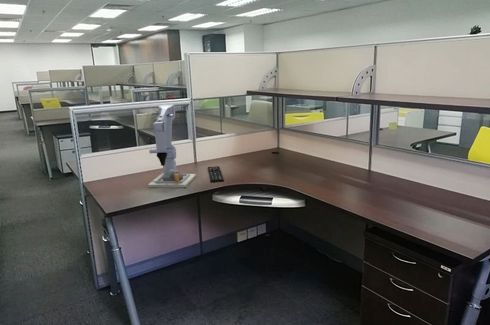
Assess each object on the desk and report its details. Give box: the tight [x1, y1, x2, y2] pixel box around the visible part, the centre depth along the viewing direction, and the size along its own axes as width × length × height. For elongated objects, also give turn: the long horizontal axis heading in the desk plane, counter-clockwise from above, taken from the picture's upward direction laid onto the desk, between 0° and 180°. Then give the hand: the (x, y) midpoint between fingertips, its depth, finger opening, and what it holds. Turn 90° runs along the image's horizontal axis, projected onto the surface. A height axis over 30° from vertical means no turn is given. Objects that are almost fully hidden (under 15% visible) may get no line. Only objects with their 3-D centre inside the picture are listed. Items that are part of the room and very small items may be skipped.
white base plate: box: [147, 173, 197, 188], centre depth 211 cm, size 22×22×2 cm
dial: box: [162, 170, 183, 181], centre depth 208 cm, size 16×12×5 cm
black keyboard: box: [207, 165, 225, 183], centre depth 223 cm, size 8×32×2 cm, turn 9°
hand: (163, 165), depth 212 cm, fingers closed
